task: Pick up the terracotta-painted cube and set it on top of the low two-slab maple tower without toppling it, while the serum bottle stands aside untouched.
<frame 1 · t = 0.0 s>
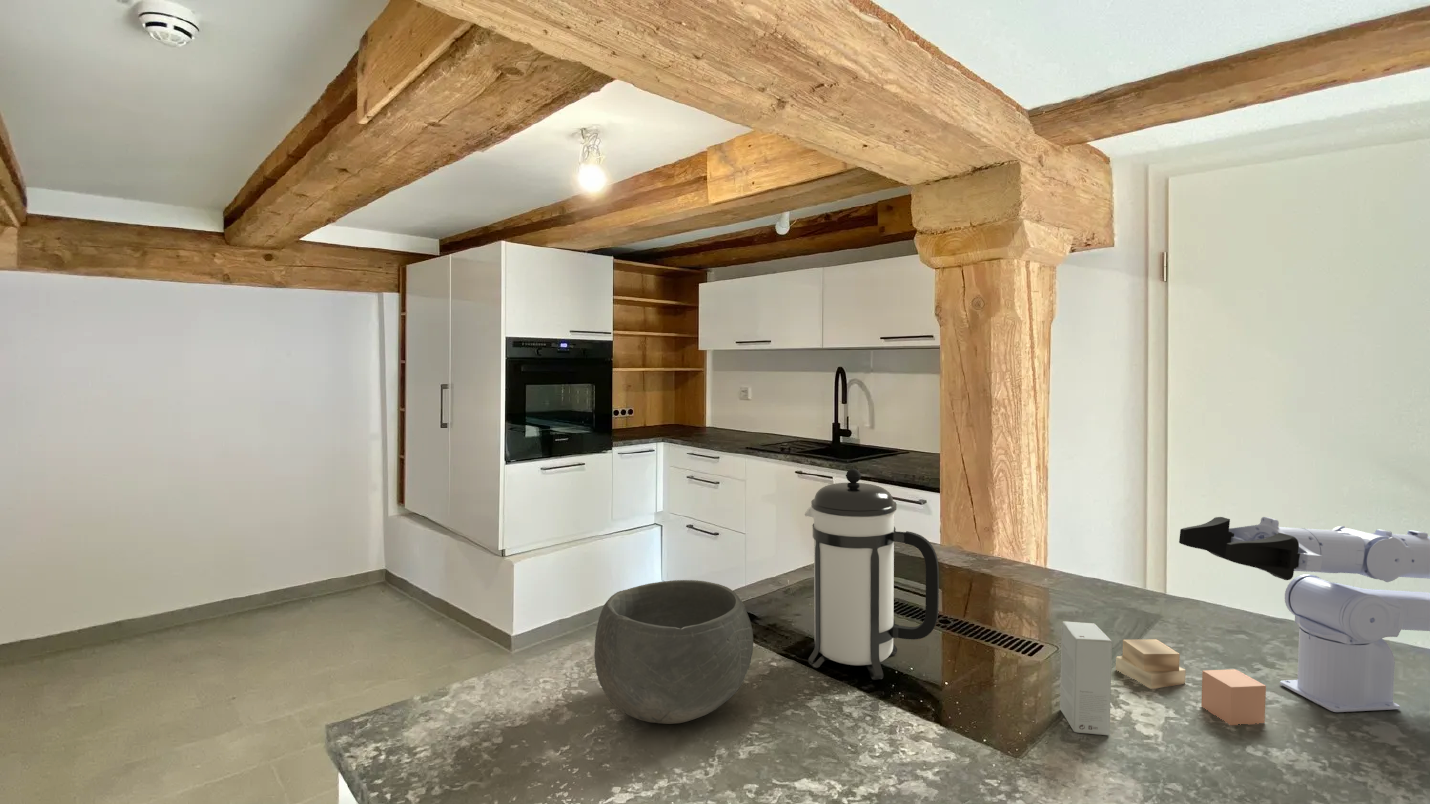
hand: (1203, 543, 89), 22 cm above the worktop, tool horizontal, fingers open, 7 cm apart
coffee press: (862, 662, 104), on the worktop
skincare box: (1083, 723, 86), on the worktop
tower mid: (1150, 663, 97), point 2 cm above the worktop, touching tower base
cube: (1232, 715, 87), on the worktop
bowl: (675, 710, 90), on the worktop
tower base: (1149, 679, 98), on the worktop, touching tower mid
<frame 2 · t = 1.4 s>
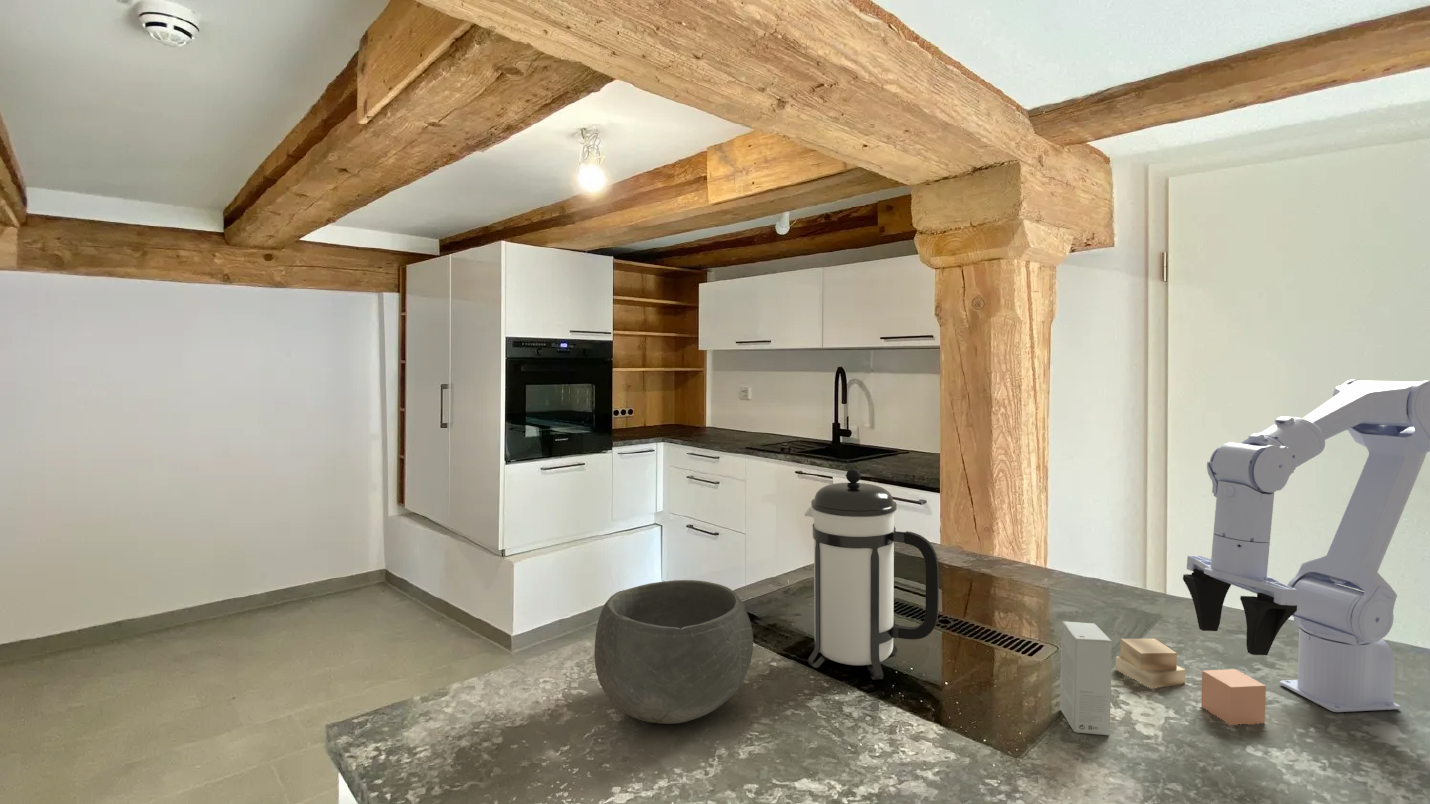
hand: (1231, 641, 86), 10 cm above the worktop, tool pointing down, fingers open, 7 cm apart
tower mid: (1147, 662, 98), point 2 cm above the worktop
tower base: (1149, 679, 98), on the worktop
everything else where it was.
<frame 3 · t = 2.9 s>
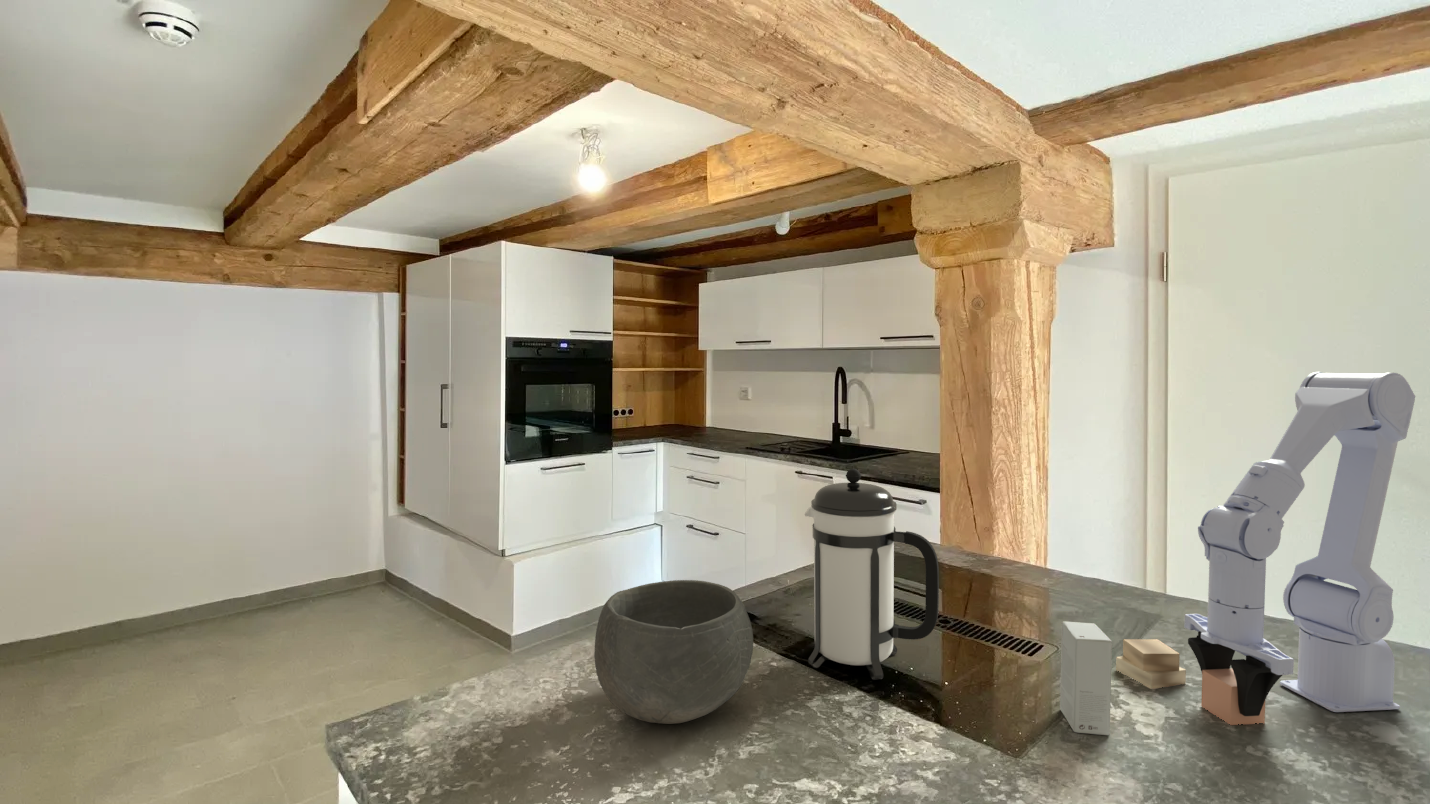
hand: (1232, 704, 87), 1 cm above the worktop, tool pointing down, fingers closed on cube, 5 cm apart
tower mid: (1150, 663, 97), point 2 cm above the worktop, touching tower base
cube: (1232, 714, 87), on the worktop, touching gripper
tower base: (1149, 680, 98), on the worktop, touching tower mid
everything else where it was.
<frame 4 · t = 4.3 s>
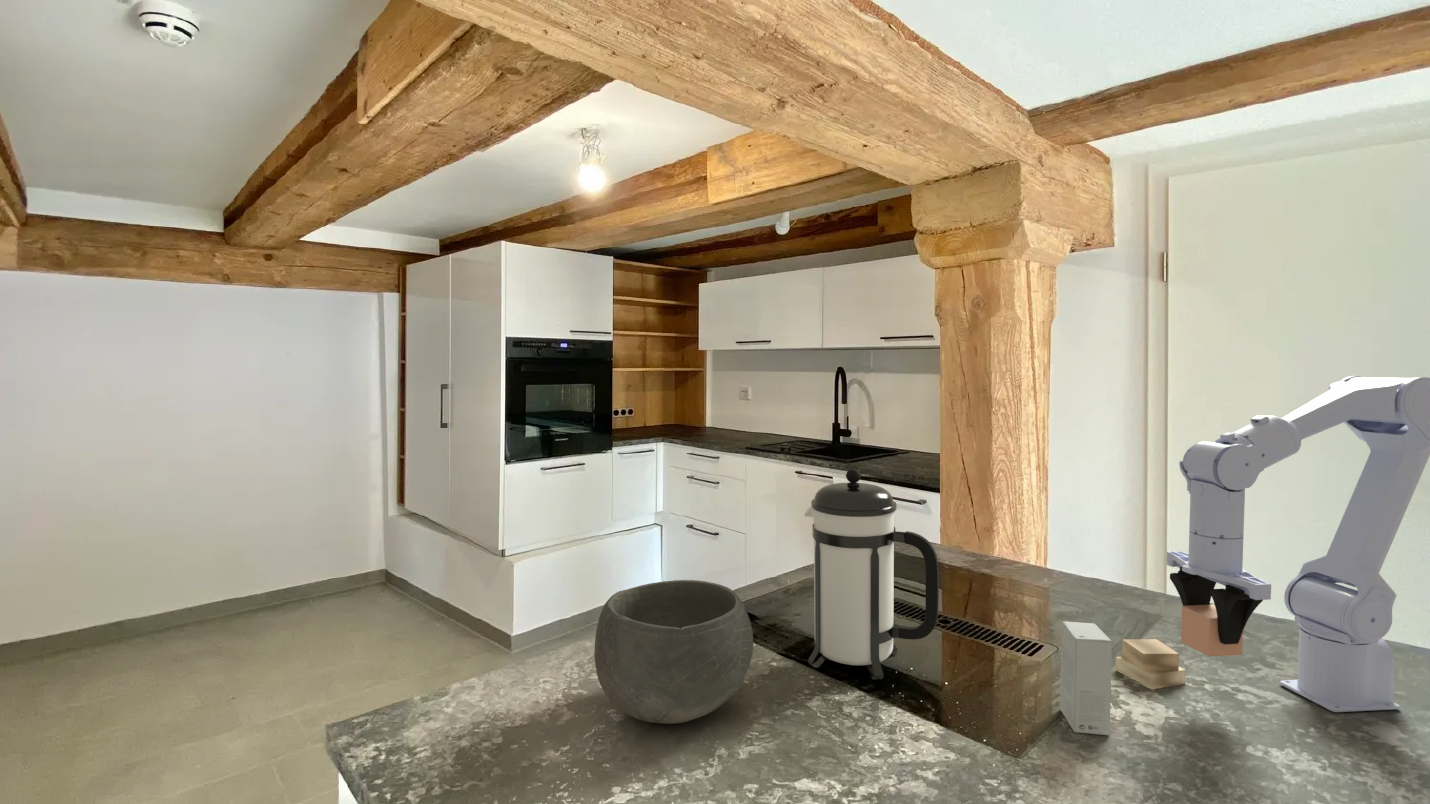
hand: (1212, 634, 89), 10 cm above the worktop, tool pointing down, fingers closed on cube, 5 cm apart
cube: (1211, 648, 89), point 8 cm above the worktop, touching gripper
everything else where it was.
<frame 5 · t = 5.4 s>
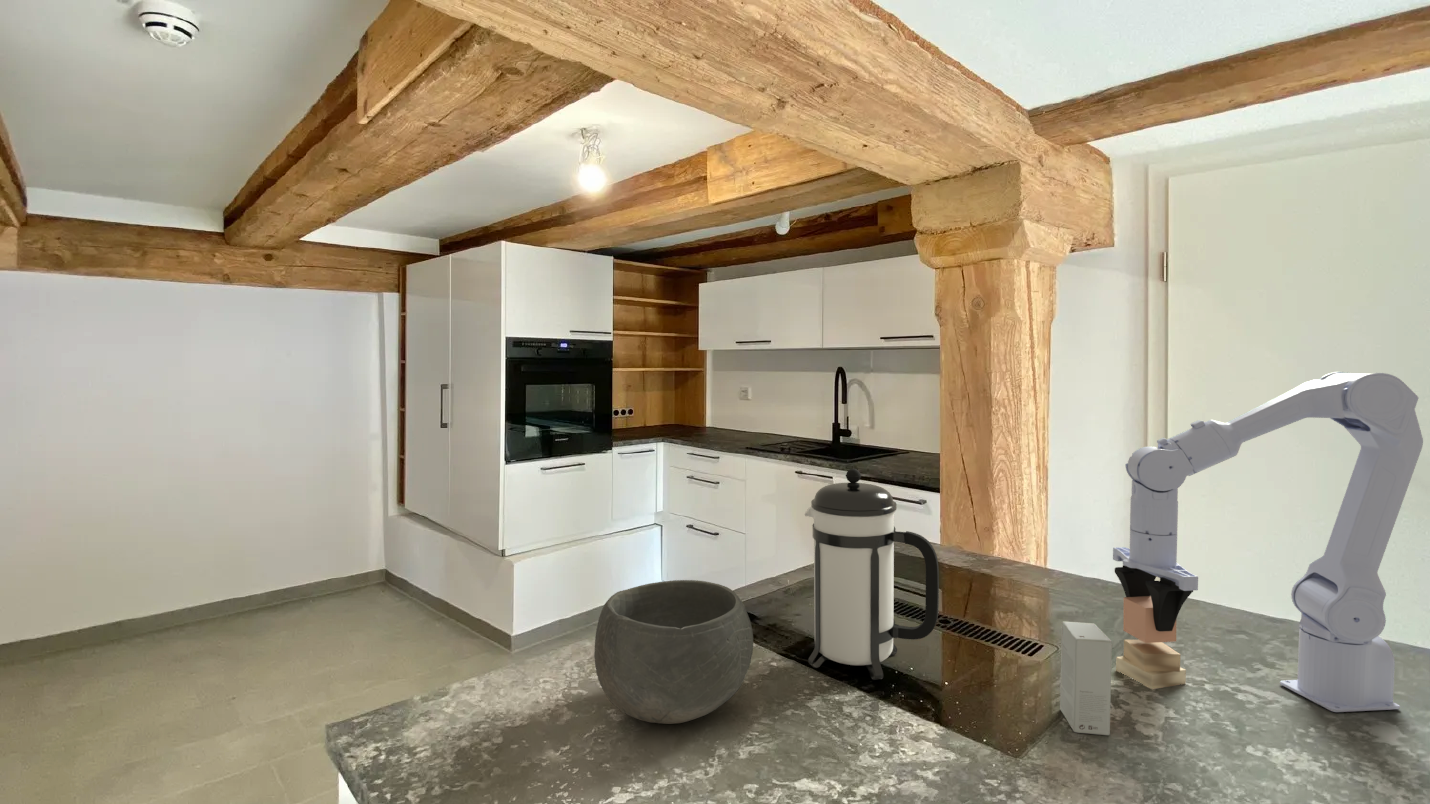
hand: (1151, 623, 97), 8 cm above the worktop, tool pointing down, fingers closed on cube, 4 cm apart
cube: (1149, 635, 97), point 6 cm above the worktop, touching gripper
everything else where it was.
when the fingers open (8 cm above the worktop, at t = 5.7 s): cube drops 1 cm, resting on tower mid.
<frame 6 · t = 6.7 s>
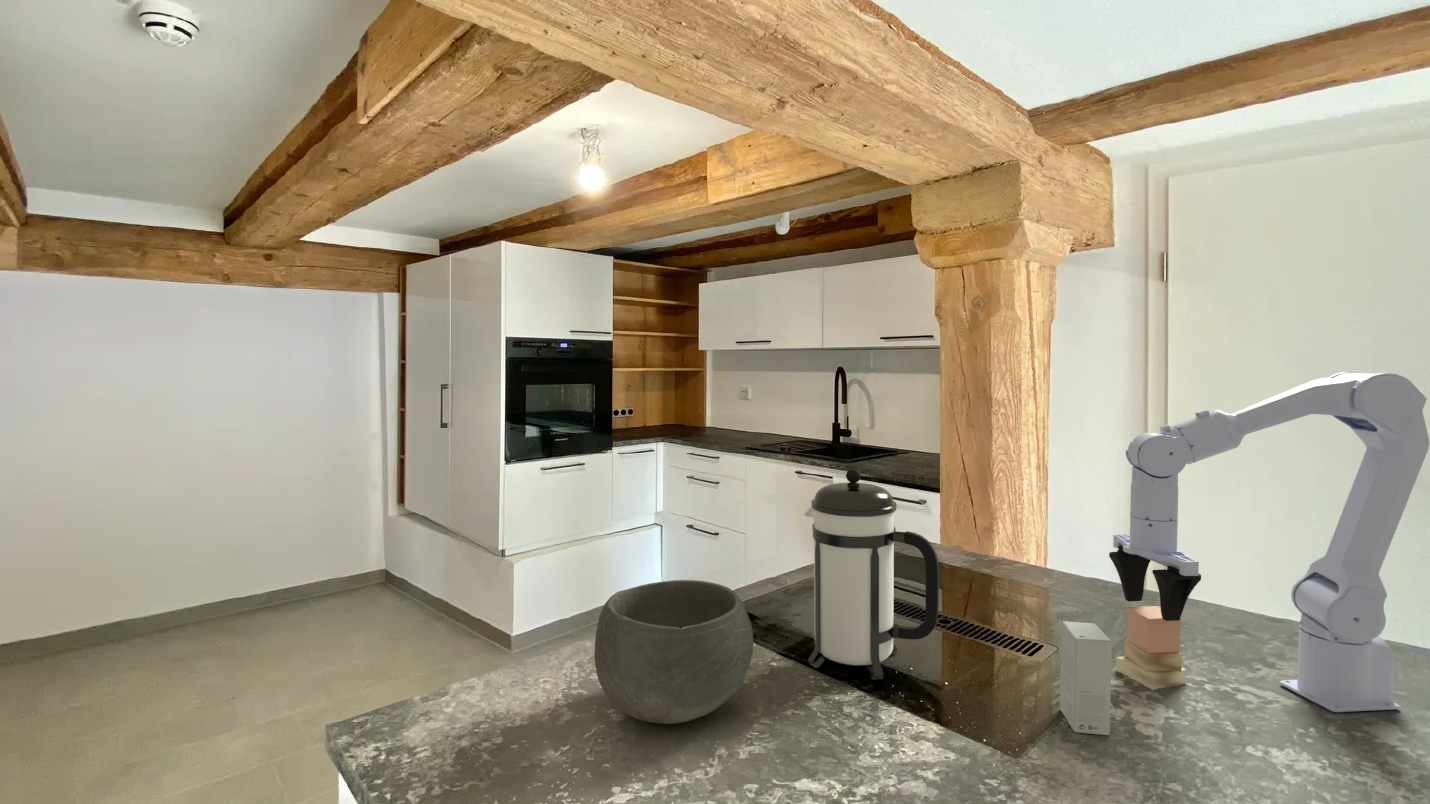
hand: (1151, 609, 97), 10 cm above the worktop, tool pointing down, fingers open, 7 cm apart
tower mid: (1152, 663, 97), point 2 cm above the worktop, touching cube, tower base
cube: (1152, 646, 97), point 5 cm above the worktop, touching tower mid
everything else where it was.
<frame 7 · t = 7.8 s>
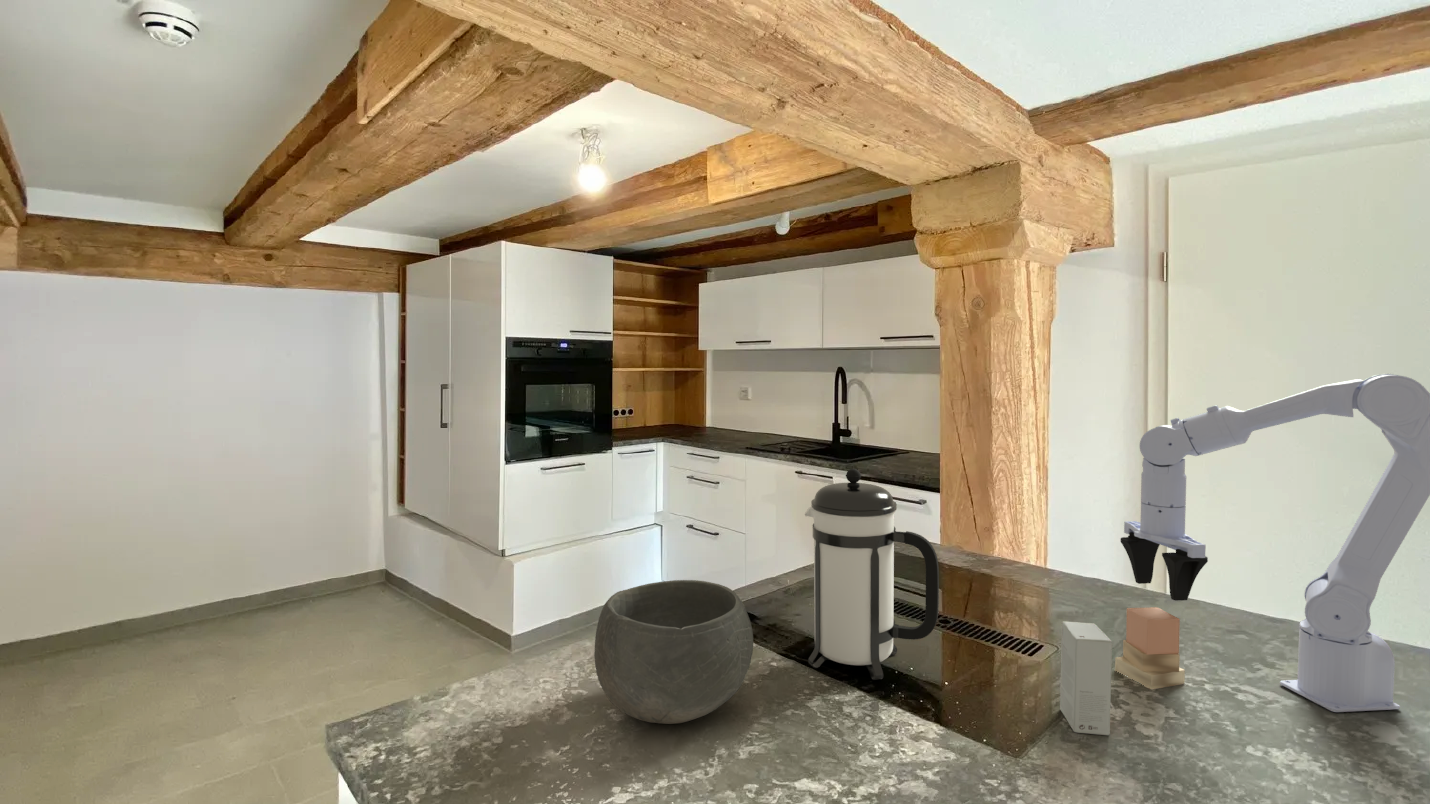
hand: (1160, 591, 103), 10 cm above the worktop, tool pointing down, fingers open, 7 cm apart
nothing on the worktop moved.
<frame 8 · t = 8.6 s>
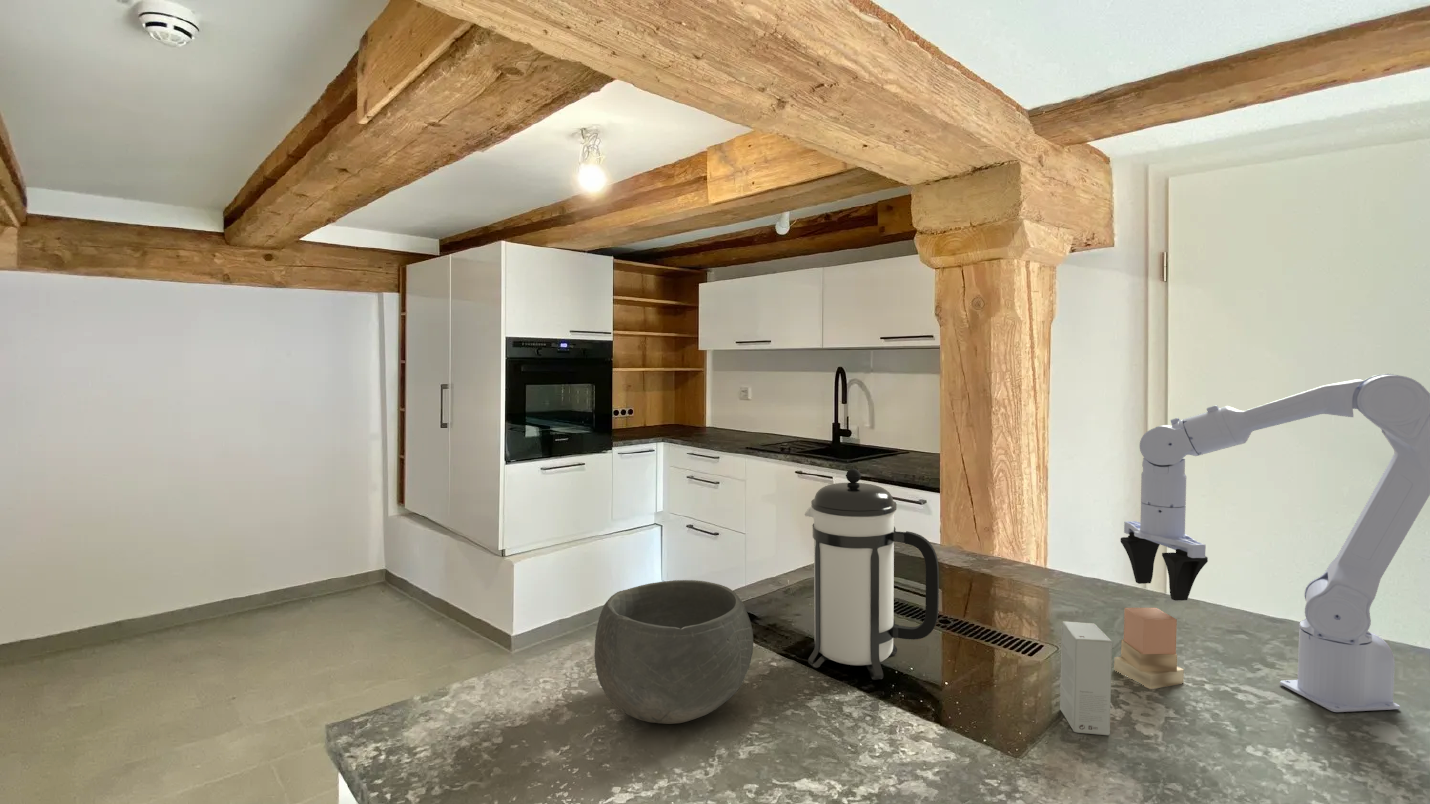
hand: (1160, 591, 103), 10 cm above the worktop, tool pointing down, fingers open, 7 cm apart
nothing on the worktop moved.
at the end: cube 0.2 cm off-centre on the tower base, point 5.0 cm above the tower base's base; cube tilted 0°; tower mid 0.1 cm off-centre on the tower base, point 2.5 cm above the tower base's base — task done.
